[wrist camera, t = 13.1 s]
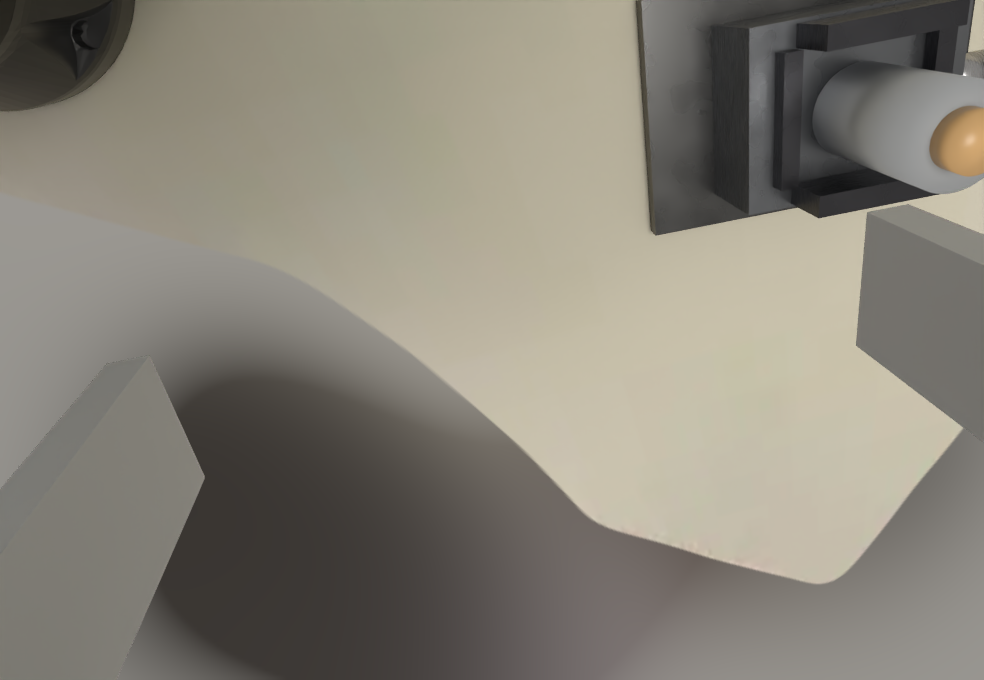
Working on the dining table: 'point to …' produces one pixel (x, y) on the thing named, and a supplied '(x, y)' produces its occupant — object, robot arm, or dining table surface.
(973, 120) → the grey cylinder with ball
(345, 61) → the dining table surface
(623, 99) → the dining table surface
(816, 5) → the stepped square mount
